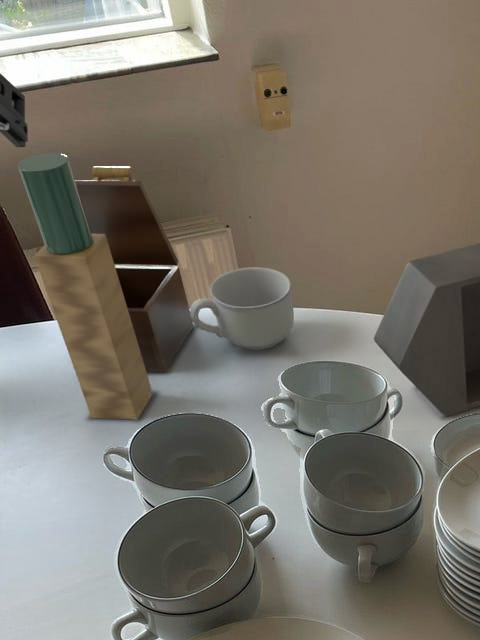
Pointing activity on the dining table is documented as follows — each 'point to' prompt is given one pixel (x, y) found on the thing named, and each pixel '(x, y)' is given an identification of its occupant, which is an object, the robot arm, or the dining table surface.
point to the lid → (125, 217)
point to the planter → (438, 328)
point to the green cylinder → (56, 203)
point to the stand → (97, 329)
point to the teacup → (249, 307)
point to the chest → (156, 312)
